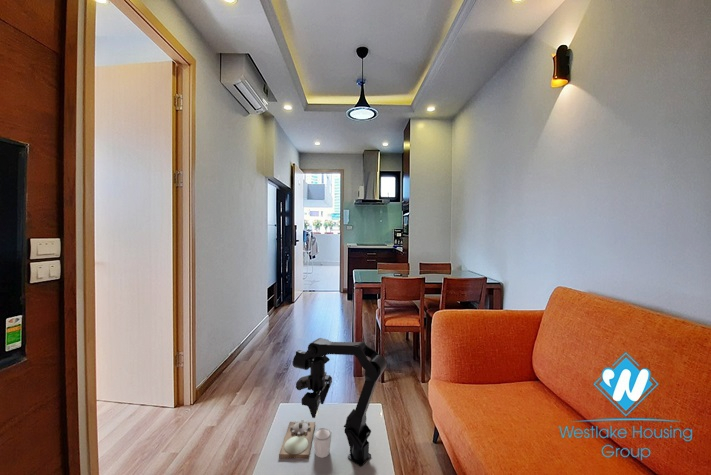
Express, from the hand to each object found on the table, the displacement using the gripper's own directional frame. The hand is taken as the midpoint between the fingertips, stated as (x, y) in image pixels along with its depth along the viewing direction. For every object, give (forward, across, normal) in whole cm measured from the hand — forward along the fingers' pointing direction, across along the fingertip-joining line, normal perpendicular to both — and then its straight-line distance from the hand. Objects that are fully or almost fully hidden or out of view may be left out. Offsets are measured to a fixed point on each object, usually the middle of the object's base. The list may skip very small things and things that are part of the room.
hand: (318, 410), depth 114 cm
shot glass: (+13, +5, +3) cm, 14 cm away
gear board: (+12, +2, -8) cm, 15 cm away
